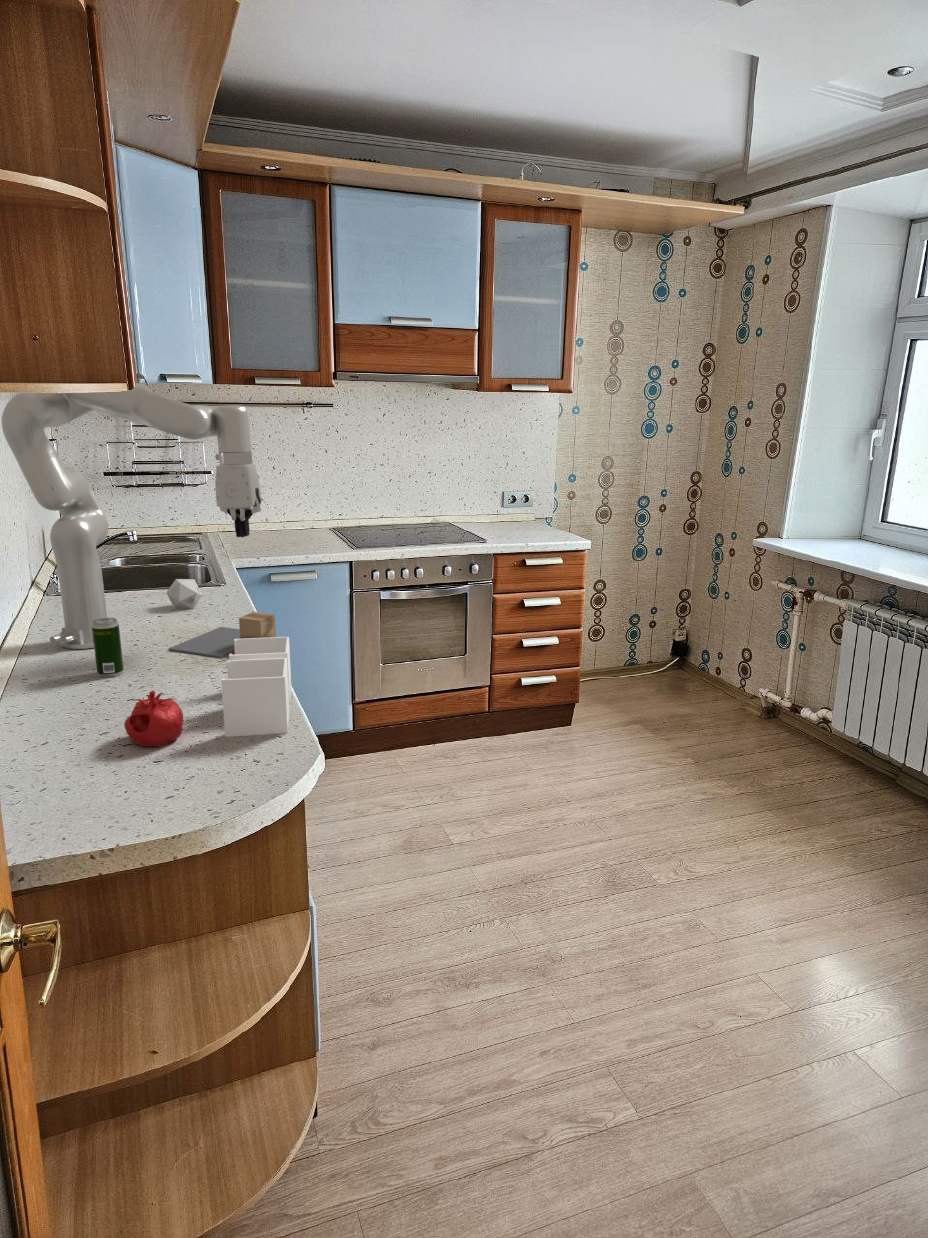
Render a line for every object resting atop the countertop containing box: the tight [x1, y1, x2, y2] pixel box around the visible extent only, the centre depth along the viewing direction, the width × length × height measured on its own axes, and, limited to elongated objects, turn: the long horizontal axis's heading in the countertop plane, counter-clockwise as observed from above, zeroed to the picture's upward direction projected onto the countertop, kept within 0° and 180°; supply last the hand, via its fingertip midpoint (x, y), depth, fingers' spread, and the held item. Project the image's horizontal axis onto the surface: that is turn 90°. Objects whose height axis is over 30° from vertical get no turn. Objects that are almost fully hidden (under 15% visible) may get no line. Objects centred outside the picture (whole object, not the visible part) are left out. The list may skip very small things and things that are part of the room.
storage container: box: [220, 636, 292, 738], centre depth 156 cm, size 25×11×11 cm, turn 10°
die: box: [165, 578, 203, 610], centre depth 229 cm, size 8×9×10 cm
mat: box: [168, 626, 240, 659], centre depth 198 cm, size 20×15×1 cm
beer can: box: [92, 617, 124, 678], centre depth 174 cm, size 5×5×12 cm
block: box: [238, 611, 277, 639], centre depth 194 cm, size 6×6×8 cm
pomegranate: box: [123, 690, 184, 747], centre depth 142 cm, size 10×10×9 cm
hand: (242, 536), depth 195 cm, fingers closed
